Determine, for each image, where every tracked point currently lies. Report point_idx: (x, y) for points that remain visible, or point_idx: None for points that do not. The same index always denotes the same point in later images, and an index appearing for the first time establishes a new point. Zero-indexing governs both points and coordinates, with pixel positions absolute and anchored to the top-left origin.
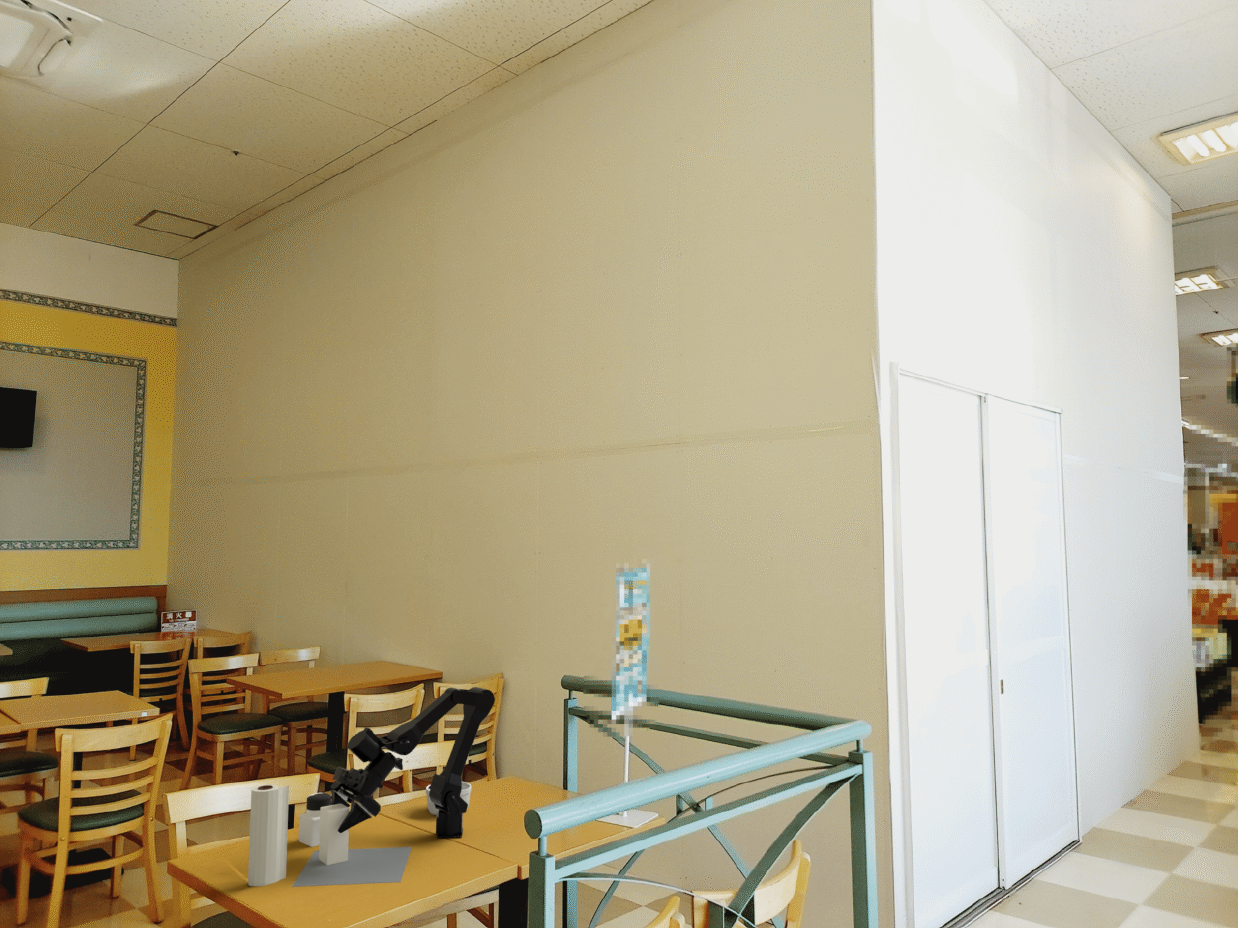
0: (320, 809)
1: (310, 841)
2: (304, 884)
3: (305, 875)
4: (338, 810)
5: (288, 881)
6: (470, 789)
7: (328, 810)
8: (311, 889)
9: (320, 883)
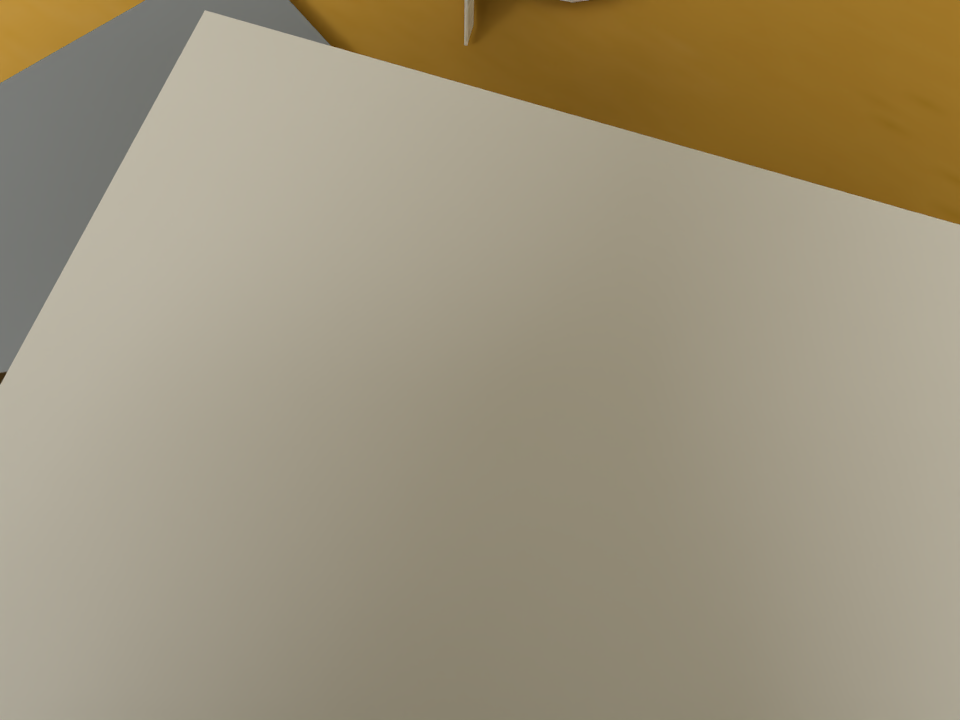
0: None
1: None
2: (175, 24)
3: None
4: (5, 380)
5: (400, 35)
6: None
7: (386, 137)
8: (64, 20)
9: (52, 103)
